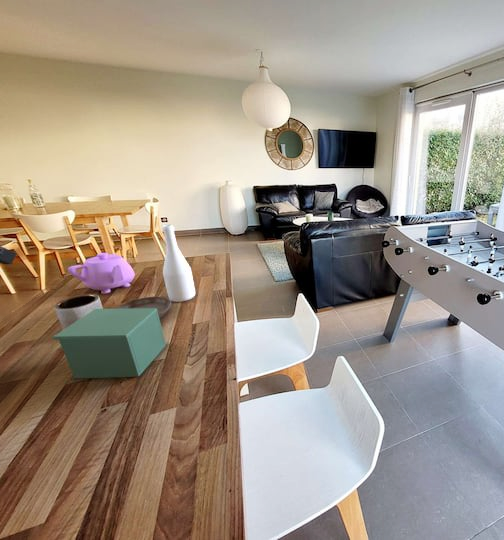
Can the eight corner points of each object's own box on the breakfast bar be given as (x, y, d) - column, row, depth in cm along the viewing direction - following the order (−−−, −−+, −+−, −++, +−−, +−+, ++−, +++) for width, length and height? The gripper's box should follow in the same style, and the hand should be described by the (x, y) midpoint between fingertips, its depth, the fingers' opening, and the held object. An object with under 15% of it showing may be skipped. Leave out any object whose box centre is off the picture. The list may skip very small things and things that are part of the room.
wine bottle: (184, 304, 112) (168, 229, 101) (163, 301, 114) (145, 227, 102) (201, 293, 121) (188, 223, 110) (181, 291, 122) (166, 221, 111)
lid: (53, 339, 70) (52, 336, 69) (96, 311, 82) (95, 308, 82) (126, 337, 71) (125, 335, 71) (157, 310, 84) (156, 308, 84)
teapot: (90, 304, 109) (78, 268, 103) (69, 291, 118) (56, 257, 112) (147, 286, 125) (139, 254, 119) (125, 276, 134) (116, 245, 128)
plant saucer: (144, 332, 94) (142, 324, 93) (98, 325, 97) (95, 317, 96) (183, 306, 111) (182, 299, 109) (143, 301, 113) (141, 294, 112)
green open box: (74, 378, 74) (58, 339, 70) (111, 346, 87) (99, 311, 82) (138, 376, 76) (126, 338, 71) (166, 345, 89) (157, 310, 84)
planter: (54, 332, 92) (43, 306, 88) (91, 315, 102) (83, 291, 98) (80, 338, 90) (70, 312, 86) (115, 320, 100) (107, 296, 96)
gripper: (-225, 211, 40) (-32, 274, 62) (-115, 213, 42) (36, 274, 63) (-187, 169, 43) (-15, 243, 65) (-86, 173, 44) (49, 244, 66)
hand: (10, 258), depth 64 cm, fingers closed
